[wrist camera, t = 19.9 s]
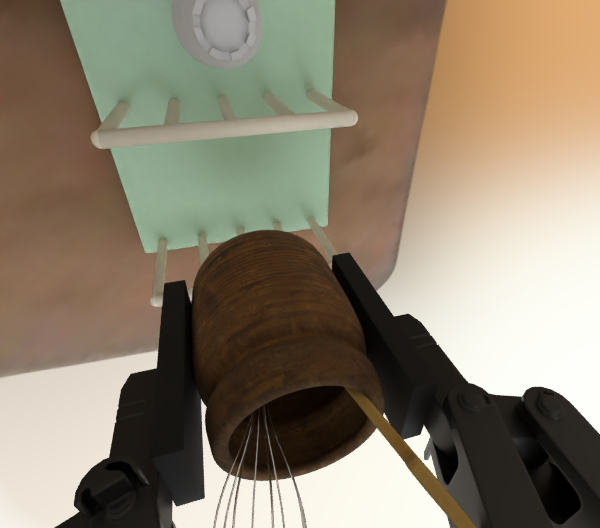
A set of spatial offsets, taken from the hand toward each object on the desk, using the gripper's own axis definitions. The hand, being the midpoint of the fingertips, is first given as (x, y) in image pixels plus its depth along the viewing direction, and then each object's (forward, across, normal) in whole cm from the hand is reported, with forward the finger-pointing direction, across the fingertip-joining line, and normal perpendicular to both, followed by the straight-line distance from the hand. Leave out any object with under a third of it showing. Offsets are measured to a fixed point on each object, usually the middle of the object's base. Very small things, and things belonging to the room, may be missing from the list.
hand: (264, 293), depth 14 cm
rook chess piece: (+14, 0, +9) cm, 17 cm away
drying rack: (+15, 0, +4) cm, 15 cm away
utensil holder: (+1, 0, 0) cm, 1 cm away
